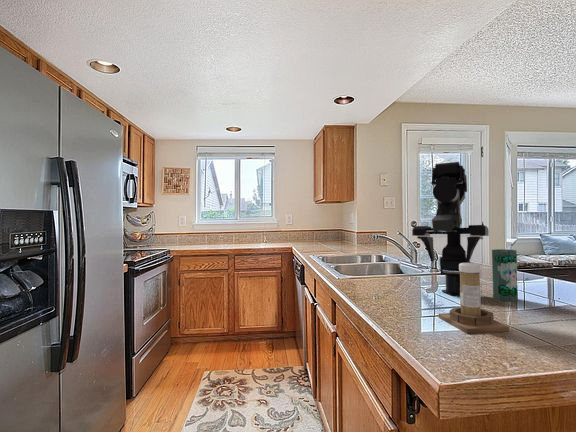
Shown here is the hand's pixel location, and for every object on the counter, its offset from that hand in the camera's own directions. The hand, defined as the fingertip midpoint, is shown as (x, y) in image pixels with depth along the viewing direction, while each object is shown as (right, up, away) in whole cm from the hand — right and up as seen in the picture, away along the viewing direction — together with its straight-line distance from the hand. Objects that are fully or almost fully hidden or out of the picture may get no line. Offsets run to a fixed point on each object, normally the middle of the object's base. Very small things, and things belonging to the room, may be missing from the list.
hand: (449, 262), depth 94 cm
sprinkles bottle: (-1, -12, -12) cm, 18 cm away
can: (+22, -13, +9) cm, 27 cm away
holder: (-1, -13, -13) cm, 18 cm away
